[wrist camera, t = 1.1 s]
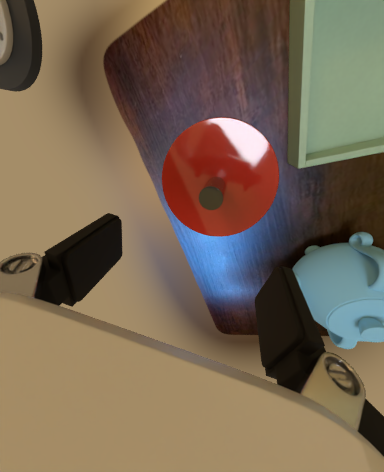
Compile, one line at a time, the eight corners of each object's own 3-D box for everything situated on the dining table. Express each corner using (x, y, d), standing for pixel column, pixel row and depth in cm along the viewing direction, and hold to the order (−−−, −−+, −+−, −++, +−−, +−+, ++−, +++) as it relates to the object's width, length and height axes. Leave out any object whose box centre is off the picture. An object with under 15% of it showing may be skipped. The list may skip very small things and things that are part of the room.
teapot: (407, 272, 31) (513, 357, 19) (300, 307, 40) (325, 377, 29) (365, 208, 27) (463, 263, 15) (258, 263, 37) (269, 322, 25)
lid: (146, 184, 23) (122, 197, 18) (218, 82, 16) (210, 60, 11) (215, 248, 26) (210, 273, 21) (303, 184, 19) (325, 200, 14)
